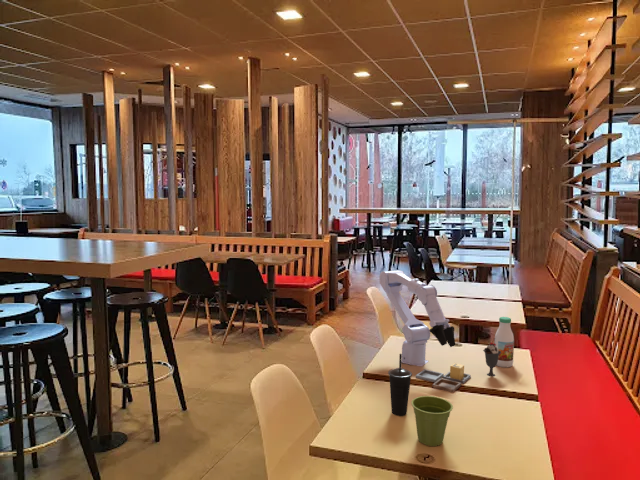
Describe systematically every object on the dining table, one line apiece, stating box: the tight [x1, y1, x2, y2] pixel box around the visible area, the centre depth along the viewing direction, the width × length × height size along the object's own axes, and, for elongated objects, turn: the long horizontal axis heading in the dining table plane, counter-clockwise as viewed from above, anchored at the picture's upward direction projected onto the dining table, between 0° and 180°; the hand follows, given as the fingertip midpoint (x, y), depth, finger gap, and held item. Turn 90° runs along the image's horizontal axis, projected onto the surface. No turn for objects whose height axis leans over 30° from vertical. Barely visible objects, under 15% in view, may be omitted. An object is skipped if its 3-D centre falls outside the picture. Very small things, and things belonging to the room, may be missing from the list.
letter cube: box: [449, 362, 465, 380], centre depth 197 cm, size 4×4×5 cm
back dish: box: [442, 371, 472, 385], centre depth 198 cm, size 8×8×2 cm
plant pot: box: [411, 395, 454, 447], centre depth 150 cm, size 12×12×11 cm
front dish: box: [431, 377, 462, 393], centre depth 190 cm, size 8×8×2 cm
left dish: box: [415, 368, 445, 383], centre depth 199 cm, size 8×8×2 cm
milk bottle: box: [493, 316, 515, 368], centre depth 213 cm, size 8×8×20 cm
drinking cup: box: [387, 353, 413, 417], centre depth 168 cm, size 8×8×20 cm
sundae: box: [482, 337, 501, 377], centre depth 201 cm, size 7×7×15 cm
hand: (448, 345), depth 197 cm, fingers open, 7 cm apart
